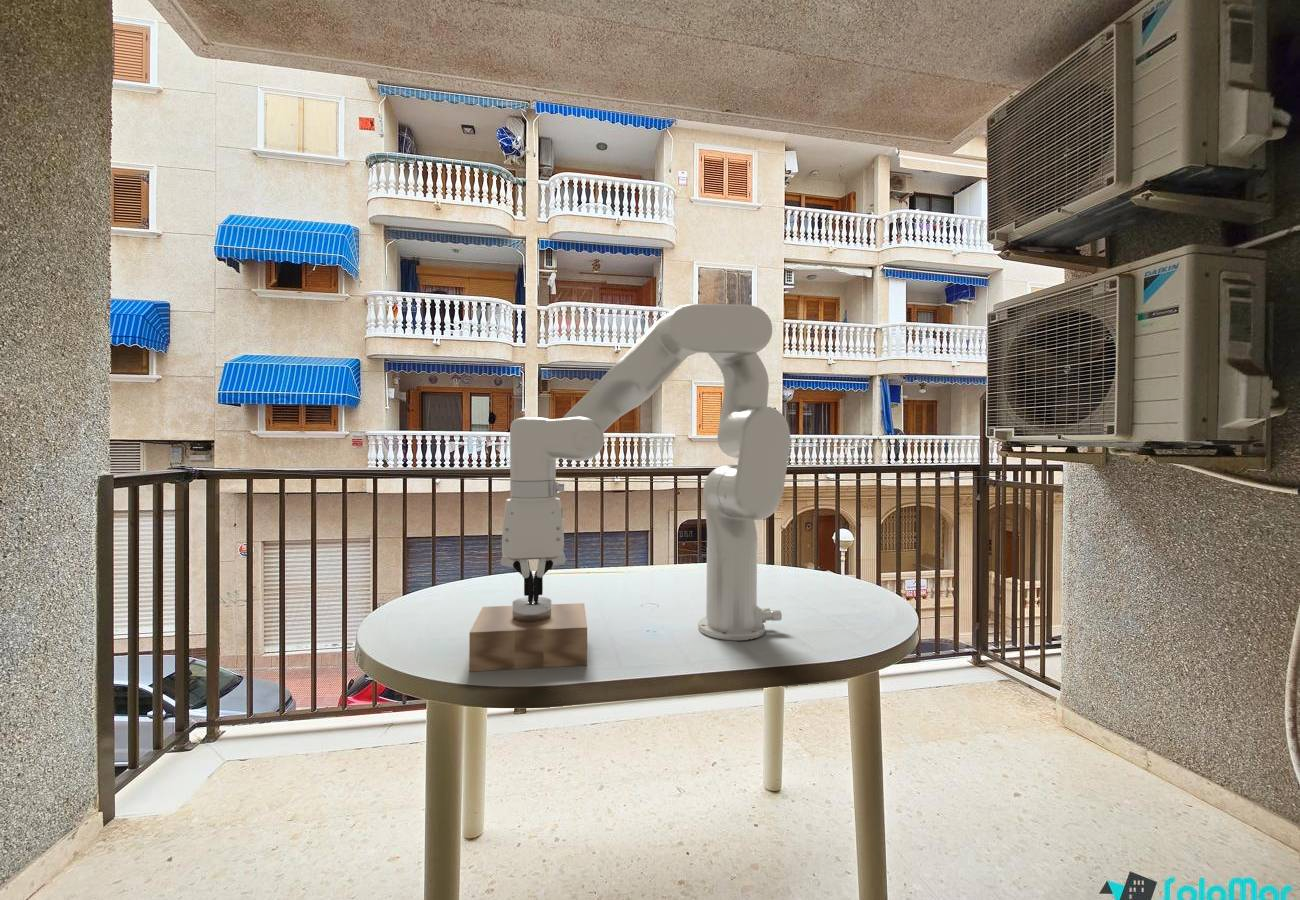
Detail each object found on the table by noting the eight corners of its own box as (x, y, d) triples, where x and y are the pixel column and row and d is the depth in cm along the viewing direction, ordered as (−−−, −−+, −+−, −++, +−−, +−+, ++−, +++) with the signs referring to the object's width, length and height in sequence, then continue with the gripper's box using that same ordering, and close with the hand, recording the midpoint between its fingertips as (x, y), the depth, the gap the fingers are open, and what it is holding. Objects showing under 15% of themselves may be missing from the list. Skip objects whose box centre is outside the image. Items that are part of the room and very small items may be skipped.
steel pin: (551, 638, 97) (551, 596, 97) (550, 652, 91) (550, 606, 91) (514, 640, 96) (514, 597, 96) (510, 654, 90) (510, 607, 90)
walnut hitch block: (583, 635, 102) (584, 603, 102) (587, 665, 88) (587, 627, 88) (482, 640, 99) (482, 606, 99) (469, 671, 85) (469, 632, 85)
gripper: (577, 488, 98) (577, 592, 98) (490, 490, 96) (490, 595, 96) (578, 492, 91) (578, 603, 91) (484, 493, 89) (484, 608, 89)
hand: (533, 599), depth 94 cm, fingers closed
